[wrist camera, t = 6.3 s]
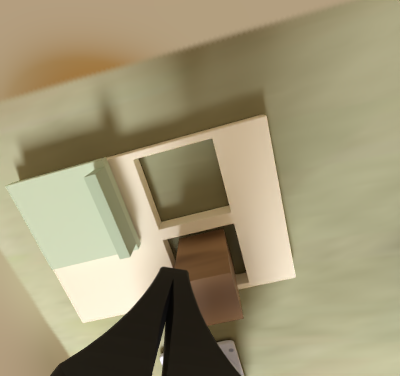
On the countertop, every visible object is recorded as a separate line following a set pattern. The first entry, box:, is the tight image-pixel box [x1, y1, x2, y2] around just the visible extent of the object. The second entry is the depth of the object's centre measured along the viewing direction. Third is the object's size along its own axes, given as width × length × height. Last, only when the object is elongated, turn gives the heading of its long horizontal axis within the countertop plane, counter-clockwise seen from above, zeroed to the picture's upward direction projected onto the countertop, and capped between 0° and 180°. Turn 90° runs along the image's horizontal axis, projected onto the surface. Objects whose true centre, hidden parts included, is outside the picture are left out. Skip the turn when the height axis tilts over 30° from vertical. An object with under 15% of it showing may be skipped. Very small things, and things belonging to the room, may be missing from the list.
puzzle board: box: [54, 115, 296, 323], centre depth 22 cm, size 14×20×1 cm
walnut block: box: [175, 228, 243, 326], centre depth 20 cm, size 4×4×6 cm
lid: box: [6, 157, 141, 270], centre depth 19 cm, size 8×8×3 cm
